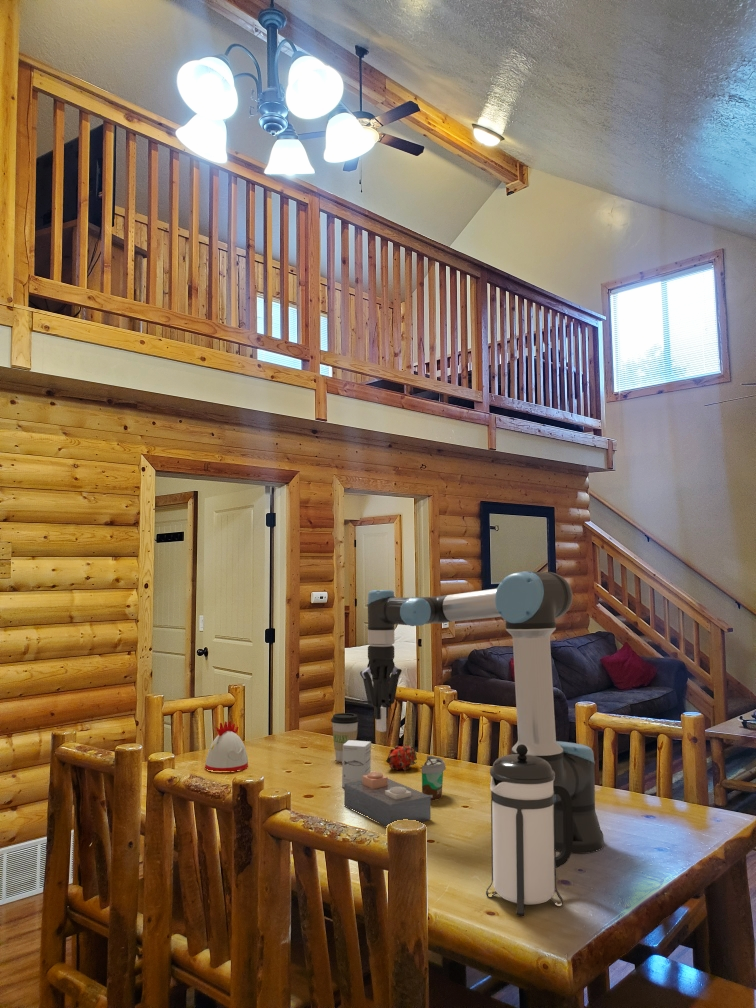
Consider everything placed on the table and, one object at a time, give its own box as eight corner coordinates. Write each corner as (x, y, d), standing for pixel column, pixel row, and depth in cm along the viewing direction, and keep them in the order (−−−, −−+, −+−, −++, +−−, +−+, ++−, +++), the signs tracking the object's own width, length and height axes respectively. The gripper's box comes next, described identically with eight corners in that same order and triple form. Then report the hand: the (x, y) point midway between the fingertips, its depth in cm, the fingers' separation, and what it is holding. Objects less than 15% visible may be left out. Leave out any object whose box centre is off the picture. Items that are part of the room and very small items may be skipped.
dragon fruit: (419, 772, 240) (389, 782, 234) (406, 752, 246) (376, 762, 240) (425, 754, 236) (395, 765, 230) (412, 735, 242) (382, 744, 236)
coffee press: (563, 925, 132) (560, 757, 135) (478, 910, 138) (476, 749, 141) (574, 887, 148) (571, 737, 151) (497, 875, 154) (495, 731, 157)
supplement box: (341, 787, 217) (341, 744, 218) (348, 781, 224) (348, 739, 225) (365, 789, 215) (365, 746, 216) (371, 782, 222) (371, 740, 224)
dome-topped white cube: (411, 815, 189) (411, 789, 190) (395, 819, 186) (395, 792, 187) (400, 810, 193) (400, 785, 194) (384, 814, 190) (385, 788, 191)
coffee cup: (327, 757, 253) (328, 713, 255) (354, 755, 256) (354, 712, 258) (334, 764, 244) (334, 718, 245) (362, 762, 247) (362, 717, 248)
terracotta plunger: (387, 799, 198) (387, 775, 199) (372, 802, 196) (372, 777, 196) (377, 795, 202) (377, 771, 203) (362, 798, 200) (362, 773, 200)
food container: (443, 803, 202) (443, 767, 203) (421, 802, 203) (421, 765, 204) (447, 791, 214) (447, 756, 215) (427, 789, 215) (427, 755, 216)
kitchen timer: (197, 766, 240) (199, 720, 241) (233, 760, 249) (234, 715, 251) (219, 775, 230) (220, 727, 231) (255, 768, 239) (256, 721, 240)
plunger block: (430, 819, 189) (430, 796, 189) (389, 829, 182) (390, 804, 182) (382, 798, 207) (383, 776, 208) (344, 806, 200) (344, 783, 200)
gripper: (392, 642, 210) (392, 725, 208) (354, 645, 203) (354, 731, 200) (407, 644, 204) (408, 730, 202) (369, 647, 197) (369, 736, 194)
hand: (381, 730), depth 201 cm, fingers closed
